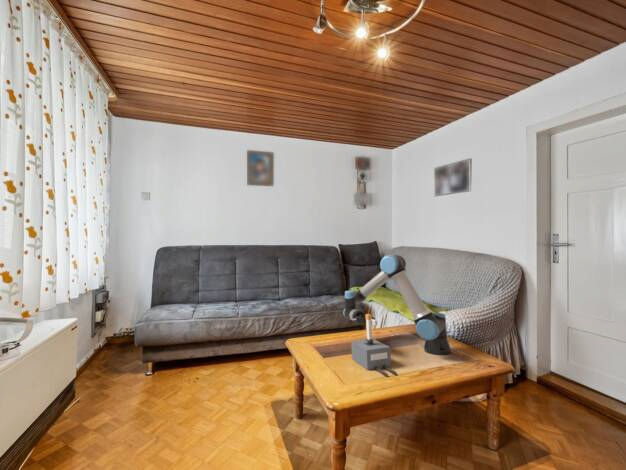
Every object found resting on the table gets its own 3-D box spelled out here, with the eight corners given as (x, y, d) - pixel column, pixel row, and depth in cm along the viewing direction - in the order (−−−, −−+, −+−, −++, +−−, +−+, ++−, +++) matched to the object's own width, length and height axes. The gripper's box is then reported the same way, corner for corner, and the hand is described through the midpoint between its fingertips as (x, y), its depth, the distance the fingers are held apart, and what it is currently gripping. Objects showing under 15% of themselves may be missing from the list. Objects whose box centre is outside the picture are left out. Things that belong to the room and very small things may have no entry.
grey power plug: (352, 359, 163) (351, 341, 164) (373, 356, 168) (372, 338, 169) (379, 378, 136) (378, 356, 137) (404, 374, 140) (402, 352, 141)
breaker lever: (366, 342, 159) (365, 314, 161) (370, 341, 160) (368, 313, 161) (369, 344, 156) (368, 315, 157) (373, 343, 157) (372, 315, 158)
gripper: (366, 321, 189) (386, 328, 166) (348, 323, 185) (366, 330, 162) (365, 309, 189) (385, 315, 167) (348, 311, 185) (365, 317, 163)
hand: (376, 323), depth 165 cm, fingers closed
